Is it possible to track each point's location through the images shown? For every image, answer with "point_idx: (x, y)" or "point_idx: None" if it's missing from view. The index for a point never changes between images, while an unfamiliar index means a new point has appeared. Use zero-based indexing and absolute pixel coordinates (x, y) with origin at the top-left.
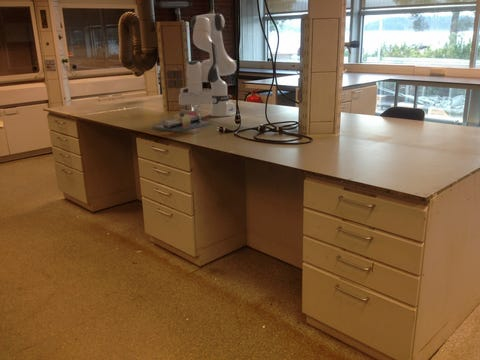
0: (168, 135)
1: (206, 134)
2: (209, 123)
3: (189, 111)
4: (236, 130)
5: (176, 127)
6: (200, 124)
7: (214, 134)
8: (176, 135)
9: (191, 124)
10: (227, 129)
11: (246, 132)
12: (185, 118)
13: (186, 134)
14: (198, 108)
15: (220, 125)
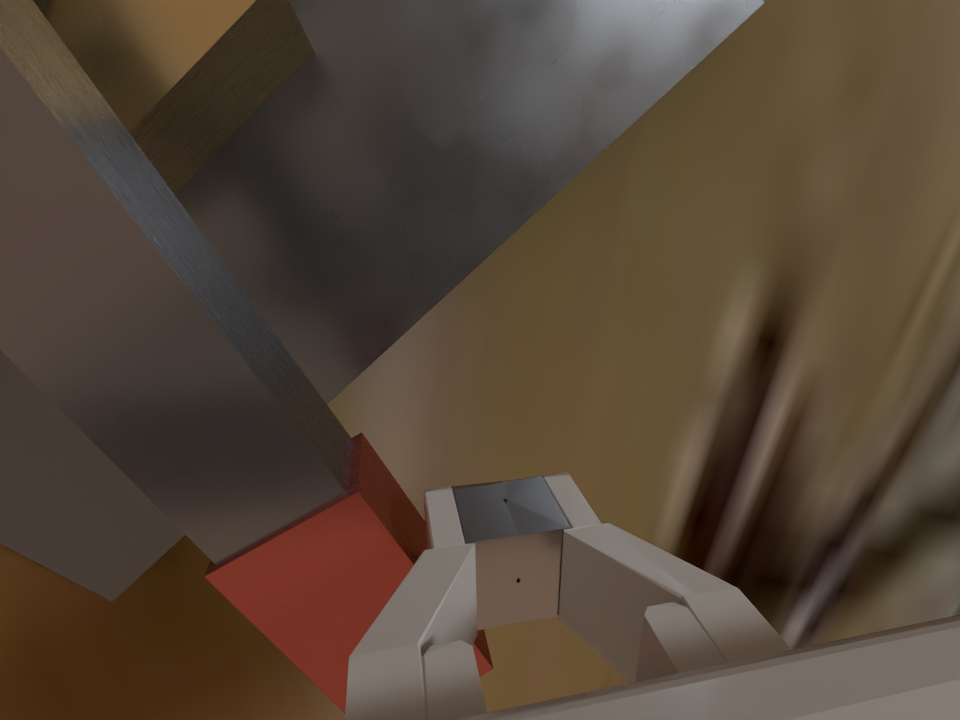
0: (11, 695)
1: (510, 676)
2: (699, 54)
3: (259, 610)
4: (842, 538)
5: (32, 397)
6: (515, 218)
7: (588, 681)
8: (139, 700)
9: (337, 155)
10: (787, 472)
11: (872, 630)
12: (149, 150)
13: (274, 661)
14: (603, 638)
15: (820, 164)
